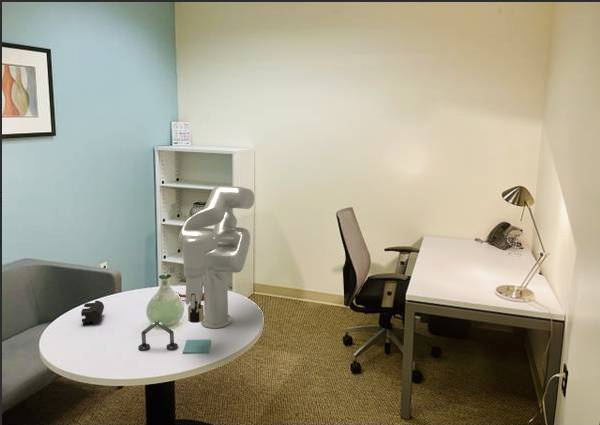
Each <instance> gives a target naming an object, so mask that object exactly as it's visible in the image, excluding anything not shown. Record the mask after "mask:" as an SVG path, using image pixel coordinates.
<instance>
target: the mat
mask: <svg viewBox="0 0 600 425" xmlns="http://www.w3.org/2000/svg"><path fill="white" fill-rule="evenodd" d="M211 342H212V340H211V339H186V341H185V344H184V347H183V350H182V354H183V355H184V354H185V355H186V354H189V355H190V354H209V351H210V346H211Z"/></svg>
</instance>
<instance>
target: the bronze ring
mask: <svg viewBox="0 0 600 425" xmlns="http://www.w3.org/2000/svg"><path fill="white" fill-rule="evenodd" d="M195 307H196V308H197V305H195ZM198 311H199V318H200V321H199V322H190V304H188V306H187V315H188V316H187V317H188V318H187V320H188V322H190V323H193V324H199V323H201V321H203V319H204V316H205V312H204V304H202V303H201V304H199V306H198Z"/></svg>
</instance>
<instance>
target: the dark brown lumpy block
mask: <svg viewBox="0 0 600 425" xmlns="http://www.w3.org/2000/svg"><path fill="white" fill-rule="evenodd" d="M83 307H84V308H82V309H81V311H80V312H81V313H80V315H81V317H85V318H81V323H82V326H83V327H87V326H89V327H90V326H95V325H96V324H98V323H99V322H100V320H101V318H102V315H103V312H104V310H105V306H104V303H103V302H102V301H100V300H95V301H94V302H87V303H86V302H85V303H84V305H83Z"/></svg>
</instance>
